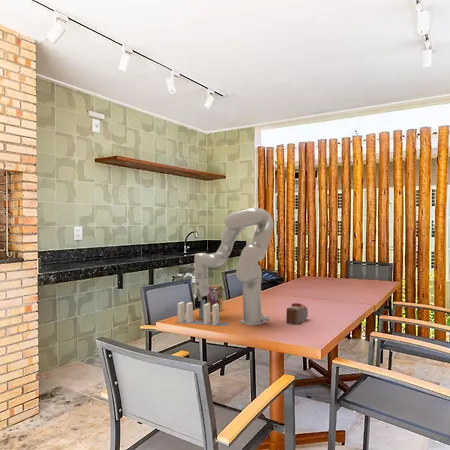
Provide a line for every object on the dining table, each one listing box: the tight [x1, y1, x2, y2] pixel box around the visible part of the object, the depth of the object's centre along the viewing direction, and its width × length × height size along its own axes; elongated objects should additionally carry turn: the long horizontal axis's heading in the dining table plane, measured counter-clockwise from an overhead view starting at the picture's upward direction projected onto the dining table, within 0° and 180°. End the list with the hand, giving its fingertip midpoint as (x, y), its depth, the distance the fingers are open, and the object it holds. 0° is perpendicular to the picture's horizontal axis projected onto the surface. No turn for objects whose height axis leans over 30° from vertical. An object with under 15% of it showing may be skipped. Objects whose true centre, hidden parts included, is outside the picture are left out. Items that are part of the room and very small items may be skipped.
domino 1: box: [177, 301, 186, 324], centre depth 210 cm, size 2×5×10 cm, turn 159°
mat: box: [175, 319, 231, 327], centre depth 206 cm, size 28×7×1 cm, turn 69°
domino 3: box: [203, 303, 211, 326], centre depth 204 cm, size 2×5×10 cm, turn 159°
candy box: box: [208, 284, 224, 312], centre depth 236 cm, size 9×4×15 cm, turn 96°
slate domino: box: [198, 299, 205, 320], centre depth 217 cm, size 2×5×10 cm, turn 159°
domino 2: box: [185, 301, 194, 324], centre depth 208 cm, size 2×5×10 cm, turn 159°
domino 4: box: [211, 304, 220, 326], centre depth 203 cm, size 2×5×10 cm, turn 159°
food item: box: [285, 302, 309, 326], centre depth 206 cm, size 14×8×10 cm, turn 148°
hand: (201, 306), depth 218 cm, fingers open, 9 cm apart
